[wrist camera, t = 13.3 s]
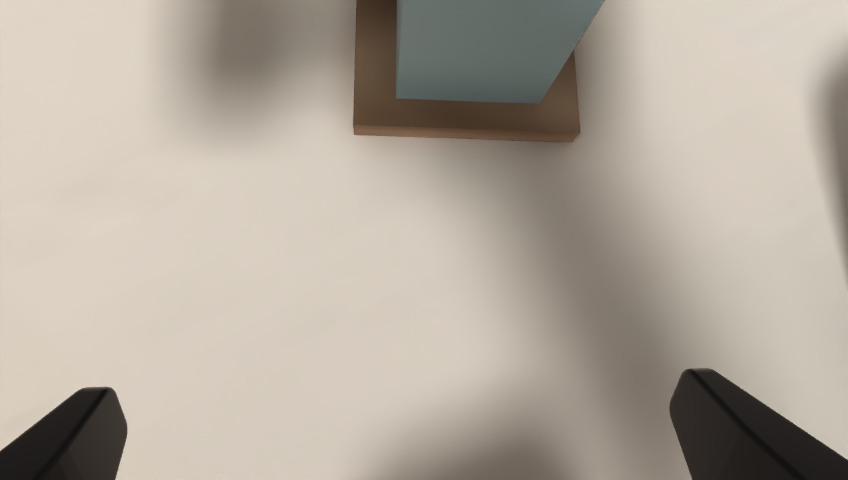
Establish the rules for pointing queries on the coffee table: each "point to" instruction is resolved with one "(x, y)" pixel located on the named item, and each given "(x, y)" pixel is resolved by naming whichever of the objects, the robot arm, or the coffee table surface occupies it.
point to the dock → (444, 117)
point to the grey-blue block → (486, 47)
